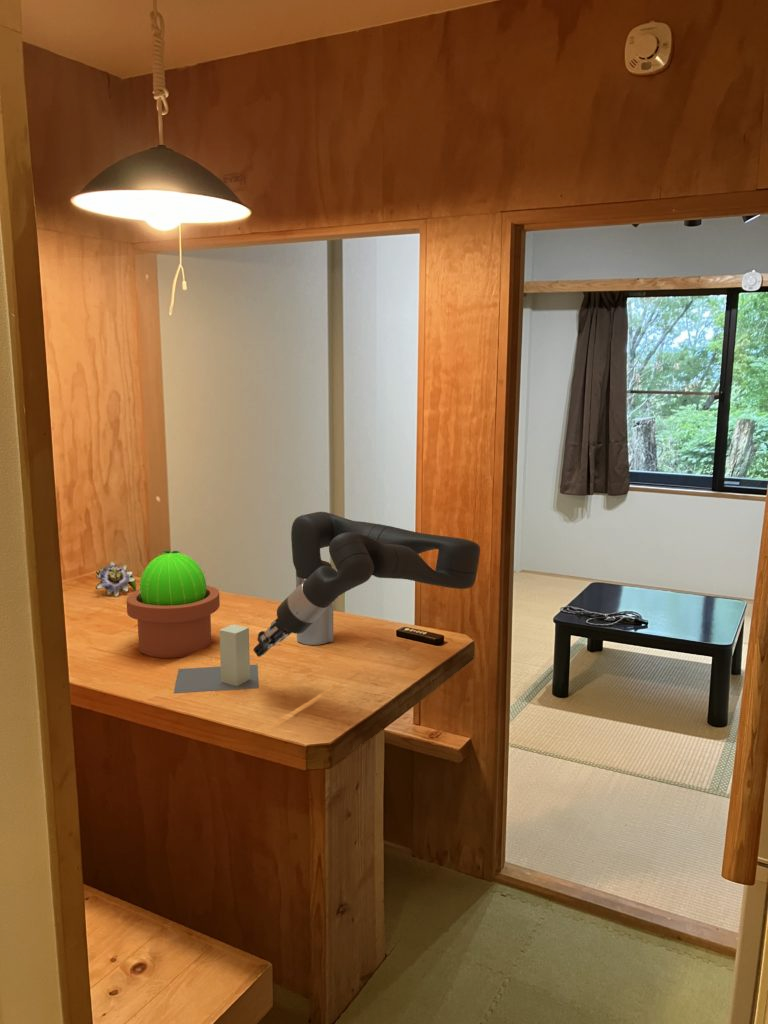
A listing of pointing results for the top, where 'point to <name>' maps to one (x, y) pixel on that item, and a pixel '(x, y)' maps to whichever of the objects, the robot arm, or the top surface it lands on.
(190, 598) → the potted cactus
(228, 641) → the sage block
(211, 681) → the rubber mat
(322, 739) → the top surface
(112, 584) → the passion flower
